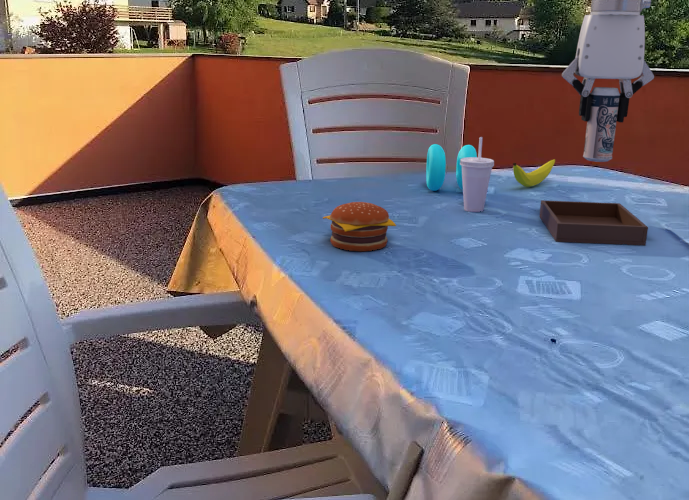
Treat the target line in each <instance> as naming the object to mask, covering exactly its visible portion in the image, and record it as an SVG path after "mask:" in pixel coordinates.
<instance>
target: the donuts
mask: <svg viewBox="0 0 689 500" xmlns="http://www.w3.org/2000/svg"><path fill="white" fill-rule="evenodd" d="M468 157H478V153H477V149H476V148H475V147H474V146H473V145H472V144H465V145H463V146H462V147H461V148H460V150H459V151H458V154H457V158H456V163H455V164H456V165H455V166H456V167H455V177H456V184H457V186H458V188H459V189H460V190H461V191H463V182H462V165H460V160H461V159H462V158H468ZM425 166H426V167H425V169H426V170H425V179H426V180H425V181H426V182H425V183H426V186H427V188H428V189H429V190H430V191H432V192H436V191H439V190H440V189H441V188H442V186H443V185H444V183H445V178H446V170H447V169H446V167H447V160H446V153H445V150H444V148H443V147H442V146H441V144H437V143H434V144H431V145H430V146H429V147H428V149H427V154H426V165H425Z"/></svg>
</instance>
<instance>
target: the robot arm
mask: <svg viewBox="0 0 689 500" xmlns="http://www.w3.org/2000/svg"><path fill="white" fill-rule="evenodd" d="M651 5H652V0H591V4H590V13H589V14H585V15H584V16H583V20H582V24H581V26H580V32H579V36H578V40H577V45H576V51H575V52H576V53H575V57H574V59H573V60H572V61H571V62H570V63H569V65H568V66H567V67H566V68H565V69H564V70H563V72H562V73H561V77H562V78H563V79H564V80H565V81H566V82H567V83H569V84H570V85H571V86H572V88H573V89H574V90H575V91H576V93H578V95H579V96H580V98H579V108H578V116H579V117H581V121H583V122H586V123H587V122H588V121H589V120H590V113H591V104H592V98H591V97H590V94H591V92H592V89H593V87H594V83H595V81H596V79H603V80H604V79H605V80H618V84H619V90H620V91H619V93H620V97H619V105H618V113H617V121H616V123H617V122H618V123H622V124H623V123H624V121H625V118H628V114H629V113H628V112H629V105H630V99H631V98H632V97H633V95H634V94H635V93H637V92H638V91H639V90H640V89H641V88H642V87H643V86H645V85H647V84H648V83H650V82H652V80H655V79H654V78H655V75H654V73H653V71H652V70H651V68H650V67H649V65H648V64H647V62H646V60H645V47H646V45H645V44H646V30H645V29H646V28H645V27H646V26H645V25H646V24H645V15H641V12H642V11H643V9H650V7H651ZM575 75H576V76H578V77H582V78H583V79H582V82H581V80H579V79H578V78H577V77H576V76H575ZM637 78H638V79H637ZM634 79H636V80H634ZM632 80H634V81H632Z"/></svg>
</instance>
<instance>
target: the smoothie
mask: <svg viewBox="0 0 689 500" xmlns="http://www.w3.org/2000/svg"><path fill="white" fill-rule="evenodd" d="M478 139H479V140H478V151H477V152H478V153H477V157H468V158H462V159H461V160H460V165H462V182H463V190H462V196H463V211H466V212H470V213H471V212H472V213H480V211H481V212H483V211H484V209H485V204H486V199H487V194H488V189H489V184H490V179H491V175H492V170H493V167H495V160H494V159H492V158H487V157H482V150H483V136H480V137H479V138H478Z"/></svg>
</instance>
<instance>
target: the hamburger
mask: <svg viewBox="0 0 689 500" xmlns="http://www.w3.org/2000/svg"><path fill="white" fill-rule="evenodd" d="M322 219H323V220H324V219H327V220H329V221H331V224H330V231H331V236H330V244H331V246H333V247H335V248H337V249H339V248H340V250H342V249H344V251H348V250H349V252H372V250H373V251H378V250H382V249H383V248H386V247H387V244H388V236H387V232H388V229H389V227H397V224H396V222H394V220H393V219H390V214H389V211H388V210H386V209H385V208H383V207H382V206H380V205H377V204H375V203H371V202H366V201H352V202H347V203H343V204H339V205H337V206H336V207H334V208H333V210H332V211H331V213H330V215H325V216H323V217H322ZM377 249H378V250H377Z"/></svg>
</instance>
